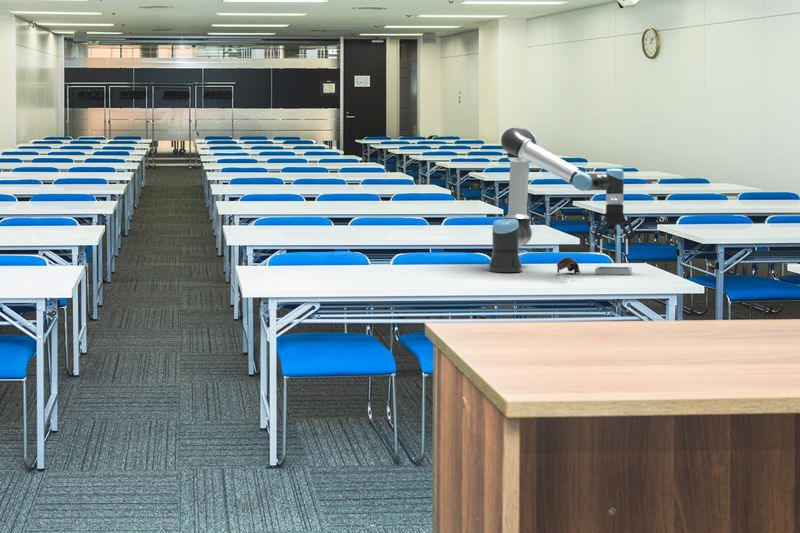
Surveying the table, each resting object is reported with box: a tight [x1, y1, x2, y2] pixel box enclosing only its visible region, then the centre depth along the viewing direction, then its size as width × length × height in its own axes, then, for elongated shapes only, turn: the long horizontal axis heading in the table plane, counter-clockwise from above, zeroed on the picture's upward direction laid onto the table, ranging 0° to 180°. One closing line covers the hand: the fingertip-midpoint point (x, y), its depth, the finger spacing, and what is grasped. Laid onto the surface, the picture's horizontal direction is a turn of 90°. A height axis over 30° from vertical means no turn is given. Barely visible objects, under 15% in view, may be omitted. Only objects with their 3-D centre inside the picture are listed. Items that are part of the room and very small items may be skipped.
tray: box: [594, 266, 633, 276], centre depth 477 cm, size 15×16×2 cm
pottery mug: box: [556, 256, 581, 274], centre depth 478 cm, size 12×9×8 cm
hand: (613, 253), depth 477 cm, fingers open, 10 cm apart
